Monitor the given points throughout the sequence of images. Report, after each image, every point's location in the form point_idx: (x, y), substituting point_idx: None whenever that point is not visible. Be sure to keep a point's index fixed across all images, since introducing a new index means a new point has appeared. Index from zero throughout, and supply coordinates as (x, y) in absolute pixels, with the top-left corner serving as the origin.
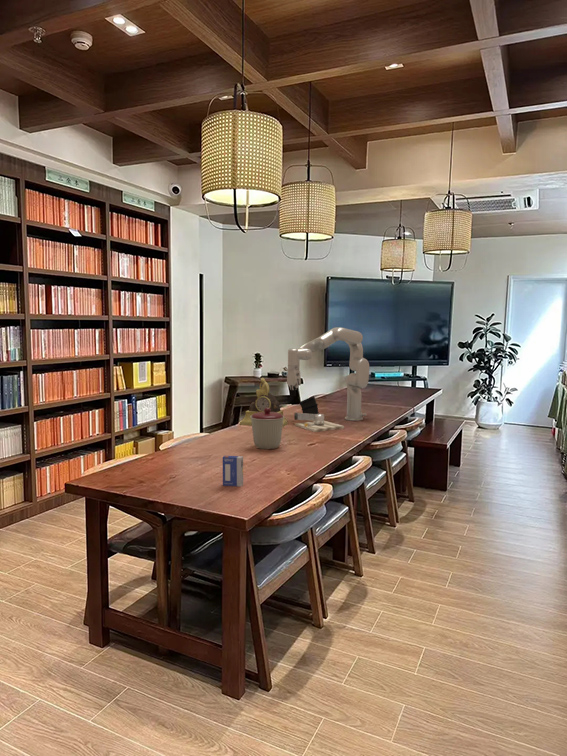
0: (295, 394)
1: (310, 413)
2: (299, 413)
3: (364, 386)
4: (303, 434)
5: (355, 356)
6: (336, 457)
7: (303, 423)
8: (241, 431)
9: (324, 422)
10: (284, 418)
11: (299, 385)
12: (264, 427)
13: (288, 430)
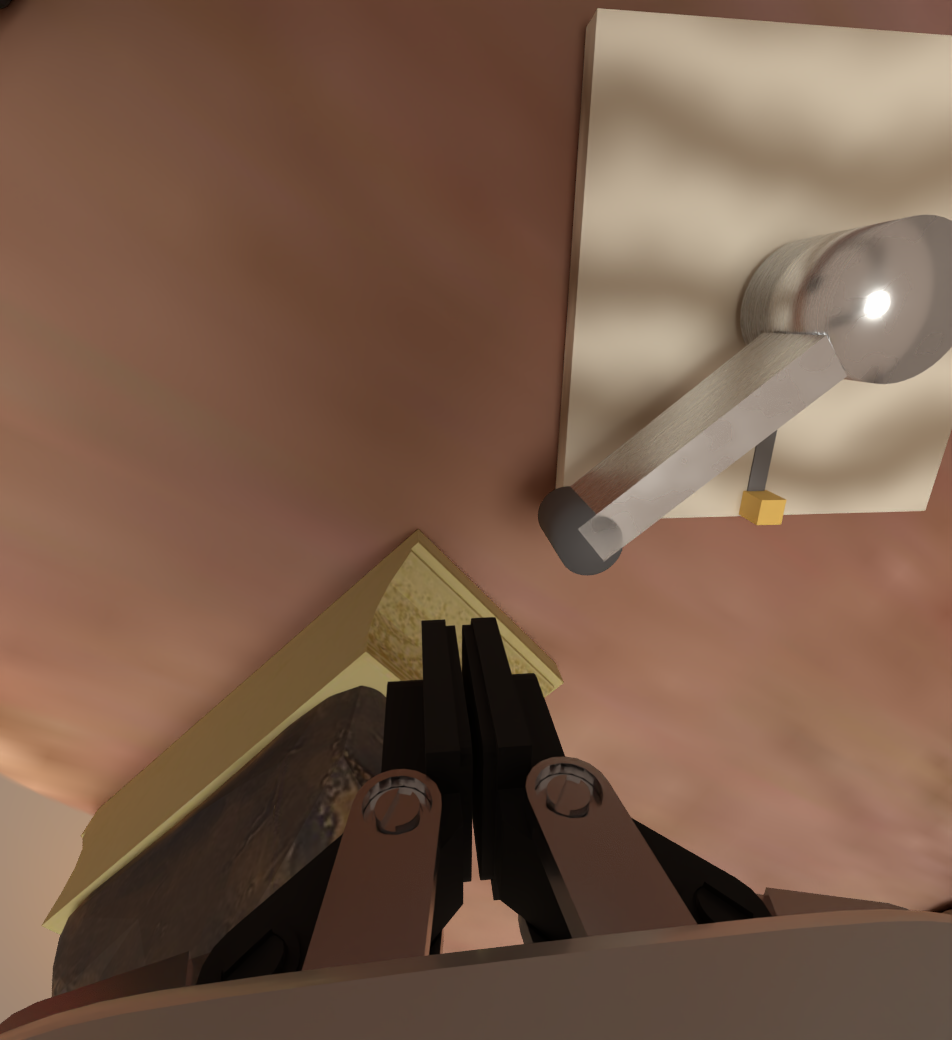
0: (501, 651)
1: None
2: (637, 524)
3: None
4: (888, 636)
5: None
6: None
7: (612, 435)
8: (503, 944)
9: (732, 126)
10: (407, 593)
11: (926, 918)
12: None
13: (688, 666)
